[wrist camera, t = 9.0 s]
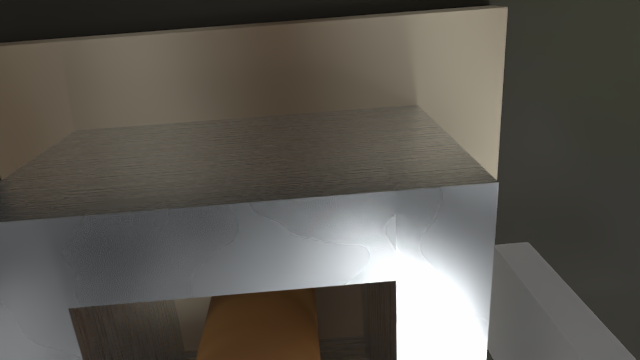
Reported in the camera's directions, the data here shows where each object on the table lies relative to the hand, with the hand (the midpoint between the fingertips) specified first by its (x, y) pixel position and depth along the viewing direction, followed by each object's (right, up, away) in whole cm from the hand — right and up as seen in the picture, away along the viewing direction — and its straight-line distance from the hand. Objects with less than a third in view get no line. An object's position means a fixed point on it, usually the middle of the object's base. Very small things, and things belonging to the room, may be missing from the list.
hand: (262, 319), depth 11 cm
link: (0, +1, +2) cm, 2 cm away
